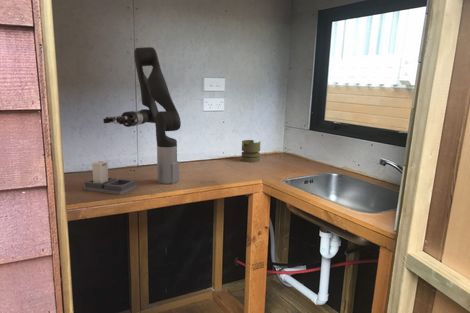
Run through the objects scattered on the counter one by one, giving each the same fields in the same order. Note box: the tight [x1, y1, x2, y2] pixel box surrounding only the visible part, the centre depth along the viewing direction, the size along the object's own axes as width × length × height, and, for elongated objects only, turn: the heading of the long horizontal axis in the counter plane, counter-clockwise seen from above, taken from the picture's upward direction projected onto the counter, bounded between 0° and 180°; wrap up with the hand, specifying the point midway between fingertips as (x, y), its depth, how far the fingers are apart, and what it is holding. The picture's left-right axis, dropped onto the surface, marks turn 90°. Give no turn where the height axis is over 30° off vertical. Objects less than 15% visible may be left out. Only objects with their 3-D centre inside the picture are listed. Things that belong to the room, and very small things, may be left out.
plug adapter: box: [91, 160, 109, 183], centre depth 162 cm, size 4×5×10 cm
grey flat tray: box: [82, 176, 138, 195], centre depth 161 cm, size 19×12×3 cm, turn 71°
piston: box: [241, 139, 261, 164], centre depth 225 cm, size 11×12×11 cm
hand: (111, 121), depth 169 cm, fingers open, 8 cm apart
